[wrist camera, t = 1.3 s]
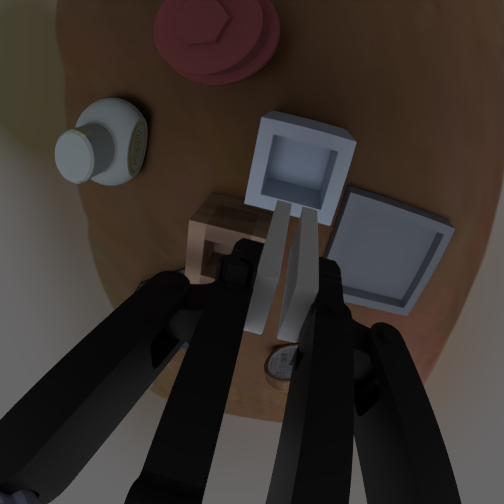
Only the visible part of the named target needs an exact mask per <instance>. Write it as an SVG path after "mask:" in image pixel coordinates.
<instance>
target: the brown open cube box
mask: <svg viewBox="0 0 504 504" xmlns="http://www.w3.org/2000/svg"><path fill="white" fill-rule="evenodd" d="M244 202H245V199H240V198H236V197H232V196H228V195H223V194H219V193H215V192H212V194H211V195H210V196H209V197H208V198H207V199H206V201H205V202H204V203H203V204H202V205H201V206H200V208H199V209H198V210H197V211H196V212H195V214H194V215H193V216H192V217H191V218H190V220H189V228H188V240H187V252H186V266H185V276H187V277H188V279H189V280H190V284H208V283H212V282H214V281H215V274H216V267H217V261H218V260H219V259H220V257H222V256H225V255H229V254H231V252H232V250H233V248H234V245H235V243H236V242H237V241H239V240H240V239H242V238H246V239H250V240H254V241H258V242H262V243H265V241H266V238H267V234H268V231H269V227H270V224H271V220H272V217H273V213H274V211H272V210H268V209H264V208H260V207H256V206H252V205H248V204H244Z"/></svg>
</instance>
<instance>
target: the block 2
mask: <svg viewBox="0 0 504 504" xmlns="http://www.w3.org/2000/svg"><path fill="white" fill-rule="evenodd" d="M356 143H357V142H356V141H355V139H354V138H353V137H352V136H351V135H350V134H349V133H348V131H347V130H346V129H343V128H339V127H336V126H333V125H329V124H326V123H322V122H318V121H315V120H311V119H307V118H303V117H299V116H295V115H291V114H287V113H282V112H278V111H273V110H272V111H271V112H269V113H267V114H266V115H264V116H262V117H261V122H260V127H259V131H258V136H257V141H256V146H255V151H254V156H253V161H252V166H251V171H250V176H249V181H248V187H247V192H246V197H245V202H244V204H248V205H252V206H256V207H260V208H264V209H268V210H272V211H274V210H275V206H276V203H277V200H280V201H284V202H288V203H292V205H291V211H290V215H291V216H295V217H299V218H300V215H301V212H302V208H303V207H307V208H311V209H314V210H317V218H318V223H321V224H325V225H328V226H330V225H331V222H332V219H333V216H334V213H335V210H336V207H337V204H338V201H339V198H340V195H341V192H342V189H343V186H344V182H345V179H346V176H347V173H348V170H349V166H350V163H351V160H352V157H353V153H354V150H355V146H356Z"/></svg>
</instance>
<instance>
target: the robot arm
mask: <svg viewBox="0 0 504 504" xmlns="http://www.w3.org/2000/svg"><path fill="white" fill-rule="evenodd" d="M291 205H292V203H288V202H284V201H280V200H277V203H276V206H275V210H274V213H273V217H272V220H271V224H270V227H269V231H268V234H267V238H266V241H265V243H262V242H258V241H254V240H250V239H246V238H242V239H240V240H239V241H237V242H236V243H235V245H234V248H233V250H232V252H231V254H229V255H225V256H222V257H220V259H219V260H218V261H217V267H216V274H215V281H214V282H212V283H208V284H190V280H189V279H188V277H187V276H185V275H184V274H182V273H180V272H177V271H163V272H160V273H158V274H156V275H155V276H153V277H152V278H151V279H150V280H149V281H147V282H146V283H145V284H144V285H143V286H142V287H141V288H139V289H138V290H137V291H136V292H135V293H134V294H132V295H131V296H130V297H129V298H128V299H127V300H126V301H124V302H123V303H122V304H121V305H120V306H119V307H118V308H117V309H115V310H114V311H113V312H112V313H111V314H110V315H109V316H108V317H107V318H105V319H104V320H103V321H102V322H101V323H100V324H99V325H98V326H97V327H95V328H94V329H93V330H92V331H91V332H90V333H89V334H88V335H87V336H86V337H85V338H83V339H82V340H81V341H80V342H79V343H78V344H77V345H76V346H75V347H74V348H73V349H72V350H71V351H70V352H69V353H67V354H66V355H65V356H64V357H63V358H62V359H61V360H60V361H59V362H58V363H57V364H56V365H55V366H54V367H53V368H52V369H51V370H49V371H48V372H47V373H46V374H45V375H44V376H43V377H42V378H41V379H40V380H39V381H38V382H37V383H36V384H35V385H34V386H33V387H32V388H31V389H30V390H29V391H28V392H27V393H26V394H25V395H24V396H23V397H22V398H21V399H20V400H19V401H18V402H17V403H16V404H15V405H14V406H13V407H12V408H11V409H10V410H9V412H7V413H6V415H5V416H4V417H3V418H2V419H1V420H0V504H48V503H50V502H51V501H52V500H54V499H55V498H56V497H57V496H59V495H60V494H61V493H62V492H63V491H64V490H65V489H66V488H67V487H68V486H69V485H70V483H71V482H72V481H73V480H74V479H75V477H76V476H77V475H78V473H79V472H80V471H81V470H82V469H83V468H84V466H85V465H86V464H87V463H88V461H89V460H90V459H91V458H92V456H93V455H94V454H95V453H96V452H97V450H98V449H99V448H100V447H101V445H102V444H103V443H104V442H105V441H106V439H107V438H108V437H109V436H110V434H111V433H112V432H113V431H114V429H115V428H116V427H117V426H118V425H119V423H120V422H121V421H122V420H123V418H124V417H125V416H126V415H127V413H128V412H129V411H130V410H131V409H132V407H133V406H134V405H135V403H136V402H137V401H138V400H139V399H140V397H141V396H142V395H143V394H144V392H145V391H146V390H147V389H148V388H149V386H150V385H151V384H152V383H153V381H154V380H155V379H156V378H157V376H158V375H159V374H160V373H161V371H162V370H163V369H164V368H165V366H166V365H167V364H168V363H169V362H170V360H171V359H172V358H173V357H174V355H175V354H176V353H177V352H178V350H179V349H180V348H181V347H182V345H183V344H184V343H185V341H186V340H191V341H190V343H189V346H188V349H187V351H186V354H185V356H184V359H183V361H182V364H181V367H180V369H179V372H178V374H177V377H176V380H175V382H174V385H173V387H172V390H171V393H170V395H169V398H168V401H167V403H166V406H165V409H164V411H163V414H162V417H161V420H160V422H159V425H158V428H157V430H156V433H155V436H154V438H153V441H152V444H151V447H150V449H149V452H148V455H147V458H146V461H145V463H144V467H143V469H142V471H141V474H140V476H139V478H138V479H137V480H136V481H135V482H134V483H133V485H132V486H131V488H130V490H129V492H128V495H127V497H126V500H125V503H124V504H202V500H203V495H204V491H205V487H206V483H207V479H208V475H209V471H210V467H211V463H212V459H213V455H214V451H215V447H216V443H217V438H218V434H219V431H220V426H221V422H222V418H223V414H224V410H225V406H226V402H227V398H228V393H229V389H230V385H231V381H232V377H233V373H234V368H235V364H236V360H237V356H238V351H239V347H240V343H241V339H242V335H243V330H245V331H248V332H252V333H256V334H260V335H262V332H263V329H264V326H265V322H266V319H267V316H268V313H269V310H270V307H271V303H272V300H273V297H274V294H275V291H276V287H277V284H278V281H279V276H280V270H281V265H282V259H283V253H284V247H285V242H286V236H287V230H288V224H289V218H290V211H291ZM298 337H299V344H298V347H297V349H296V351H295V353H294V355H293V357H292V359H291V361H290V364H289V365H291V366H292V364H293V366H292V372H291V379H290V385H289V390H288V396H287V402H286V408H285V413H284V419H283V424H282V429H281V434H280V439H279V445H278V449H277V454H276V459H275V464H274V469H273V473H272V478H271V483H270V487H269V491H268V495H267V500H266V504H349V496H350V495H349V494H350V485H351V473H352V456H353V436H354V437H355V441H356V446H357V451H358V456H359V461H360V466H361V471H362V476H363V482H364V487H365V493H366V498H367V504H461V500H460V496H459V492H458V488H457V484H456V481H455V477H454V474H453V470H452V467H451V463H450V460H449V457H448V453H447V450H446V447H445V444H444V441H443V438H442V435H441V432H440V429H439V426H438V423H437V421H436V418H435V415H434V412H433V410H432V407H431V404H430V402H429V399H428V396H427V394H426V391H425V389H424V386H423V384H422V381H421V379H420V376H419V374H418V372H417V369H416V367H415V364H414V362H413V360H412V357H411V355H410V353H409V351H408V348H407V346H406V344H405V342H404V339H403V337H402V335H401V334H400V332H399V331H398V330H397V329H396V328H395V327H393V326H391V325H389V324H387V323H383V322H380V323H375V324H374V325H372V327H371V328H368V327H366V326H364V325H362V324H360V323H358V322H356V321H355V320H353V319H352V314H351V311H350V309H349V308H348V307H347V306H346V305H345V304H344V297H343V287H342V278H341V269H340V267H339V266H338V264H337V263H336V261H334V260H330V259H327V258H323V257H319V253H318V218H317V210H314V209H311V208H307V207H303V208H302V212H301V215H300V218H299V222H298V225H297V229H296V232H295V236H294V239H293V242H292V246H291V249H290V254H289V261H288V268H287V275H286V282H285V289H284V295H283V302H282V308H281V315H280V321H279V327H278V333H277V339H280V340H285V341H289V342H293V343H296V341H297V339H298Z"/></svg>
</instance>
